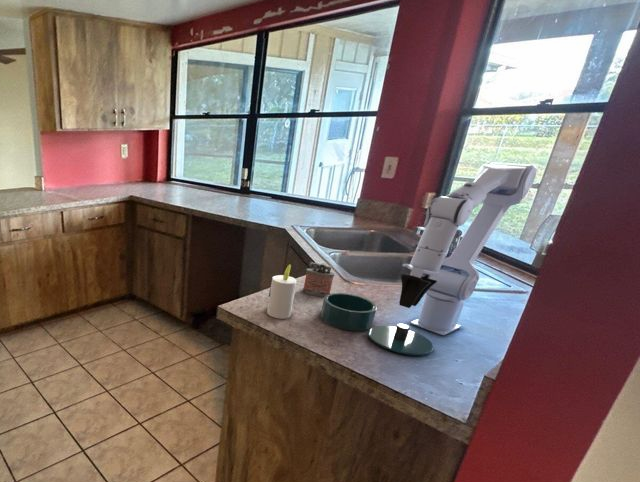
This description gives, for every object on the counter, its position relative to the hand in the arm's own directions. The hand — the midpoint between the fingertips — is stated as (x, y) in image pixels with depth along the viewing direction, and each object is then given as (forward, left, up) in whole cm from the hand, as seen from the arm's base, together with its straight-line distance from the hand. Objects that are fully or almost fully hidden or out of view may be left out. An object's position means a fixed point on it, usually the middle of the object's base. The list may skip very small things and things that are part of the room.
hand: (407, 305), depth 95 cm
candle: (+12, -26, -11) cm, 30 cm away
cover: (-1, 0, -10) cm, 10 cm away
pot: (-1, -14, -10) cm, 17 cm away
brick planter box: (-10, -30, -11) cm, 33 cm away
